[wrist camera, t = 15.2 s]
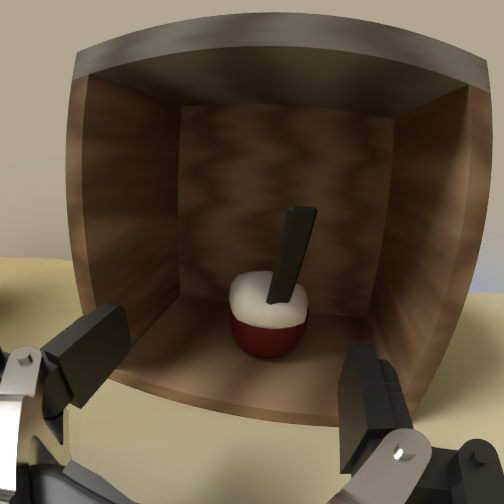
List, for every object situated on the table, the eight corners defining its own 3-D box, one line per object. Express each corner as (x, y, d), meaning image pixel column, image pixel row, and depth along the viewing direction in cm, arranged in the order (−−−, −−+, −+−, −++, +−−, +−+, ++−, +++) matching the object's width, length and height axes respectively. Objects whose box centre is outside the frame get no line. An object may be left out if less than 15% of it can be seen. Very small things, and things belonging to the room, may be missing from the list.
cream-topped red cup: (240, 319, 27) (242, 192, 24) (305, 324, 26) (316, 196, 23) (211, 380, 18) (205, 202, 15) (302, 391, 17) (324, 207, 14)
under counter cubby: (100, 374, 18) (77, 52, 11) (174, 296, 32) (175, 92, 25) (405, 425, 15) (486, 60, 7) (373, 321, 29) (403, 105, 22)
